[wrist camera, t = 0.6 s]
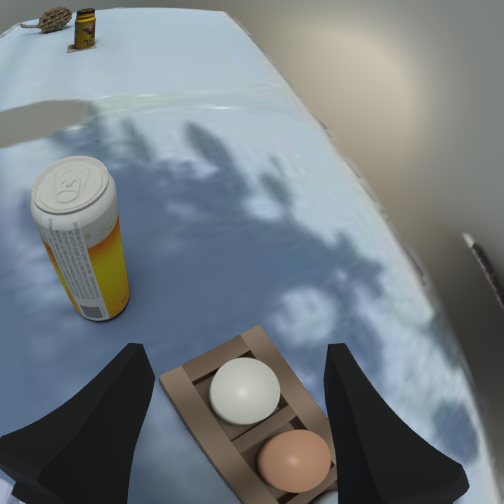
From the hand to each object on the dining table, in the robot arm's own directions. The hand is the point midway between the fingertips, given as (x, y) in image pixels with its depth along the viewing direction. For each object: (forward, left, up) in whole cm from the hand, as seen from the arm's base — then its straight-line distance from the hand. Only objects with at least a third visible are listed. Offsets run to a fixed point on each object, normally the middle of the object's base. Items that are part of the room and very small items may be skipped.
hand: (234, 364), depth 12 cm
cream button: (+2, -3, -14) cm, 15 cm away
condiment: (+81, +47, -17) cm, 95 cm away
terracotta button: (-4, -7, -14) cm, 17 cm away
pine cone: (+102, +75, -17) cm, 128 cm away
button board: (-4, -7, -17) cm, 19 cm away
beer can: (+10, +11, -17) cm, 22 cm away
